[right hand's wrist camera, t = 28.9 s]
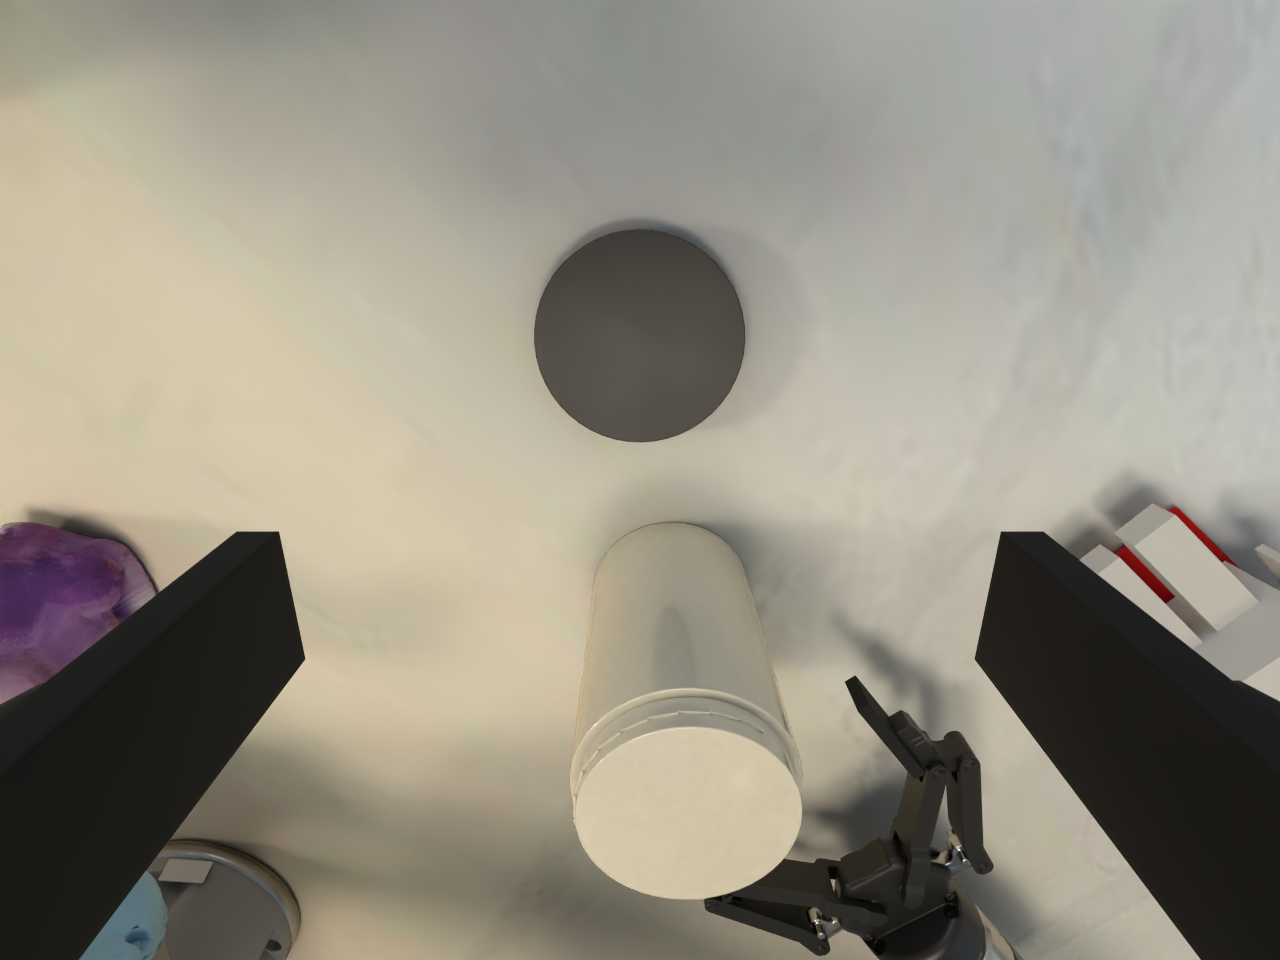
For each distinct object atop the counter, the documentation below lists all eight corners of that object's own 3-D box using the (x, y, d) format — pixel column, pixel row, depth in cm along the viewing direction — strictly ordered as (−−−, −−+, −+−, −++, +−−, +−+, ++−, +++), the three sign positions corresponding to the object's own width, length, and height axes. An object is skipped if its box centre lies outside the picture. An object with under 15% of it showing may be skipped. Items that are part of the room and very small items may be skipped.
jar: (575, 541, 45) (534, 746, 28) (731, 506, 44) (791, 696, 27) (614, 670, 49) (600, 923, 31) (760, 640, 48) (828, 884, 30)
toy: (1284, 506, 34) (1635, 882, 37) (1128, 445, 46) (1399, 728, 50) (1074, 659, 37) (1414, 992, 40) (982, 563, 50) (1245, 821, 53)
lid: (781, 333, 40) (788, 340, 38) (641, 468, 43) (641, 481, 41) (637, 181, 37) (637, 179, 35) (498, 337, 40) (490, 343, 38)
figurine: (178, 662, 48) (-10, 844, 34) (25, 626, 47) (-234, 800, 33) (186, 545, 45) (-18, 694, 31) (21, 504, 44) (-267, 640, 30)
